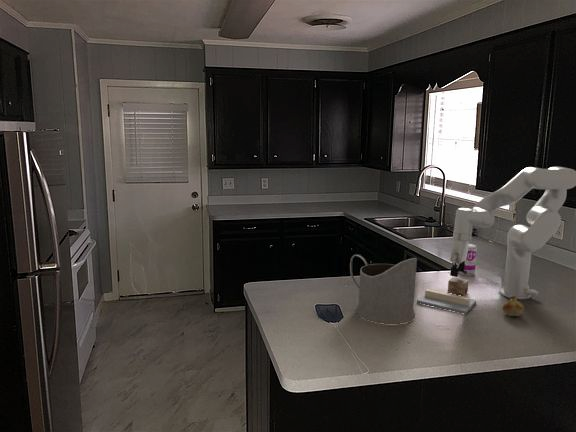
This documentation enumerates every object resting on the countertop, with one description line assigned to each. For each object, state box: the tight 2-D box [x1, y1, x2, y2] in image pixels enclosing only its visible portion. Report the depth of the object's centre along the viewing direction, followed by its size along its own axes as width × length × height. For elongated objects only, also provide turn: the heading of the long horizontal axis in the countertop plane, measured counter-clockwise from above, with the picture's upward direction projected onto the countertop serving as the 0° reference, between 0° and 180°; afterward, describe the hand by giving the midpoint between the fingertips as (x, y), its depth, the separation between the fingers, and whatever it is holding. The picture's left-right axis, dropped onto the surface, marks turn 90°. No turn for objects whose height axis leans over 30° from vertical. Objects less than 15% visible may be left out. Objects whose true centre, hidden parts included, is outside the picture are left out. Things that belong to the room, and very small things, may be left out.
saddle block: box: [446, 276, 470, 297], centre depth 212 cm, size 7×6×6 cm
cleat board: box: [416, 289, 477, 315], centre depth 199 cm, size 20×16×4 cm
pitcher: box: [349, 254, 418, 324], centre depth 189 cm, size 23×32×25 cm
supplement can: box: [458, 243, 478, 277], centre depth 240 cm, size 8×8×15 cm
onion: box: [502, 296, 525, 317], centre depth 187 cm, size 8×8×8 cm
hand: (457, 273), depth 211 cm, fingers open, 9 cm apart
